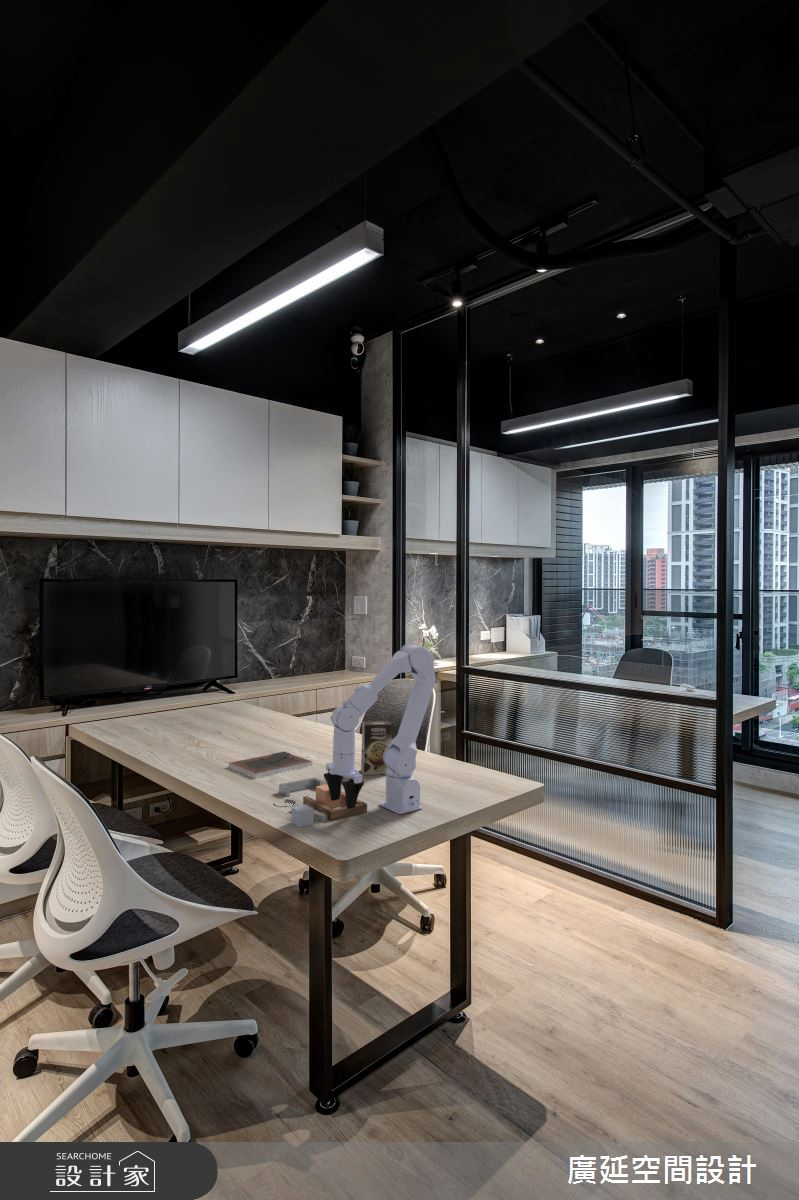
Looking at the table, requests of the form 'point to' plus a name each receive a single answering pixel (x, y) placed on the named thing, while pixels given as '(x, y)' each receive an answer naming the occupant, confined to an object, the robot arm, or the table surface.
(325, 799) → the cube
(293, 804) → the hole disc
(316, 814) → the steel bar
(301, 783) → the rail
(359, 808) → the bay
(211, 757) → the table surface
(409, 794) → the robot arm
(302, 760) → the picture frame
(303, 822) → the slate block
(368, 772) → the coffee box
